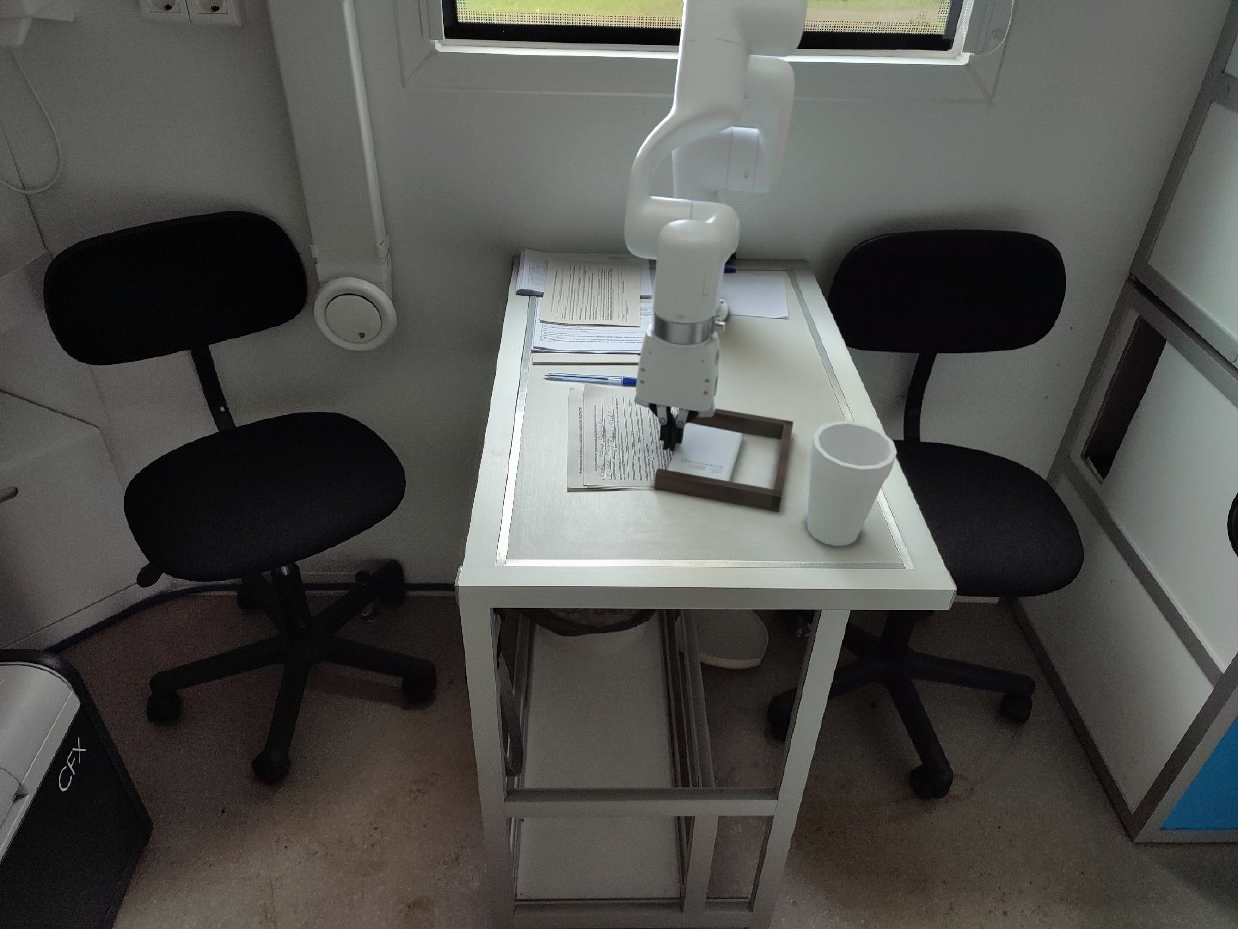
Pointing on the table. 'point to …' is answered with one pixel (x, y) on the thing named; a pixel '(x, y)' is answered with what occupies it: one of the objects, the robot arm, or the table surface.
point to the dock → (728, 489)
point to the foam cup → (845, 478)
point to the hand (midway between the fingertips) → (670, 445)
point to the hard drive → (706, 452)
